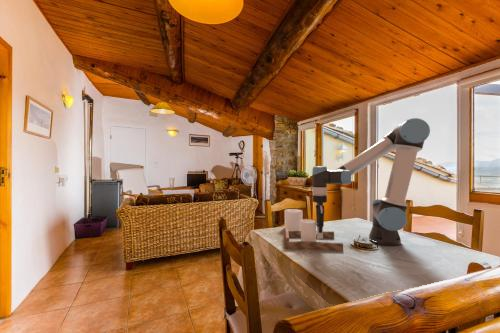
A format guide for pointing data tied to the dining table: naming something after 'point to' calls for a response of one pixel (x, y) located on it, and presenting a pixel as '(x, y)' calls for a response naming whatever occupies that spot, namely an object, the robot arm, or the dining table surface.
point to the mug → (308, 230)
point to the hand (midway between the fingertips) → (320, 237)
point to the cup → (293, 219)
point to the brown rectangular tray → (311, 244)
